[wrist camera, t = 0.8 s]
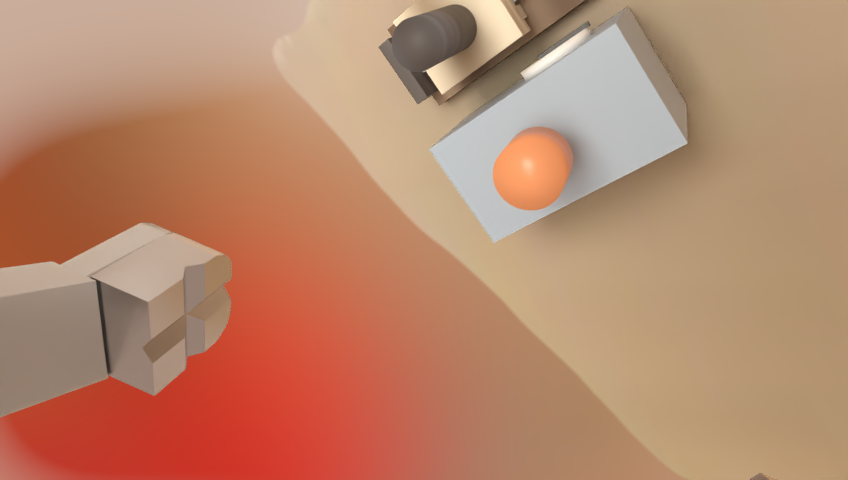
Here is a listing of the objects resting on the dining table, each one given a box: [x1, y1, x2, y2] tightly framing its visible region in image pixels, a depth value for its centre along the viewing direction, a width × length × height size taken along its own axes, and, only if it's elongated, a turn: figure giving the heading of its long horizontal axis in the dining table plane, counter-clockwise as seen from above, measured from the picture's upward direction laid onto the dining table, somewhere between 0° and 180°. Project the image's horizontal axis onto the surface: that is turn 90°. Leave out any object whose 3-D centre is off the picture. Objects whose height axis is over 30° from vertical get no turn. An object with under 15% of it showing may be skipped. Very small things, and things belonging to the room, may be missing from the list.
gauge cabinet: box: [429, 6, 688, 242], centre depth 40 cm, size 14×9×9 cm, turn 129°
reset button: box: [493, 127, 573, 211], centre depth 33 cm, size 4×4×3 cm
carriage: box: [392, 0, 531, 94], centre depth 37 cm, size 7×6×11 cm
